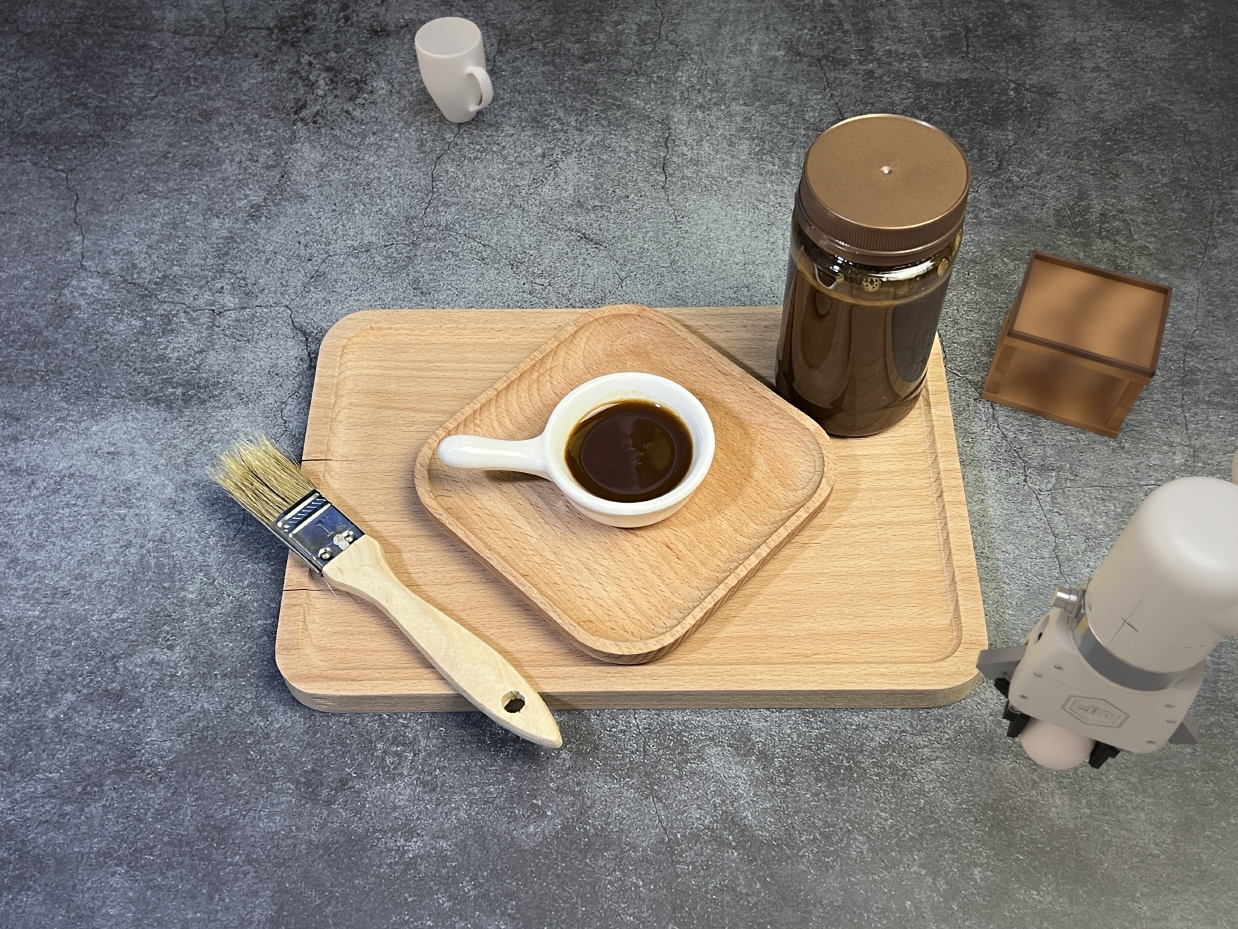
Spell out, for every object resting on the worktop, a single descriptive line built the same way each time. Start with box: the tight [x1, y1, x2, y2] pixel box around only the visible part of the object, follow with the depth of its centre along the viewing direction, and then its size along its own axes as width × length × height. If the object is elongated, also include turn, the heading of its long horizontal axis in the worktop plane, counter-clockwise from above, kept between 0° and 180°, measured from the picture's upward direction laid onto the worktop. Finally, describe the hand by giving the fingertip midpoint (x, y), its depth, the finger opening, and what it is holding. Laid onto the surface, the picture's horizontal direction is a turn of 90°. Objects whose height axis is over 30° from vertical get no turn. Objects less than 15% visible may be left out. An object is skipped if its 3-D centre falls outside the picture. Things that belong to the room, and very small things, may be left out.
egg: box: [1019, 716, 1097, 771], centre depth 81 cm, size 5×5×7 cm
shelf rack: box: [980, 249, 1174, 440], centre depth 114 cm, size 14×12×11 cm
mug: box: [414, 16, 494, 124], centre depth 139 cm, size 12×8×11 cm
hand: (1055, 734), depth 82 cm, fingers closed on egg, 5 cm apart
